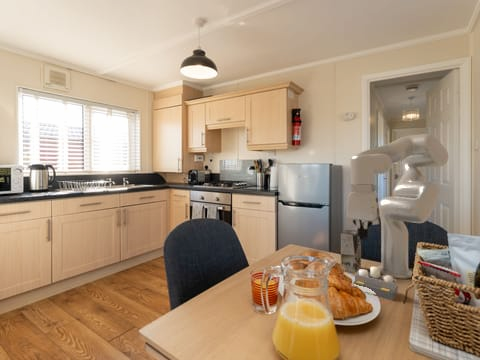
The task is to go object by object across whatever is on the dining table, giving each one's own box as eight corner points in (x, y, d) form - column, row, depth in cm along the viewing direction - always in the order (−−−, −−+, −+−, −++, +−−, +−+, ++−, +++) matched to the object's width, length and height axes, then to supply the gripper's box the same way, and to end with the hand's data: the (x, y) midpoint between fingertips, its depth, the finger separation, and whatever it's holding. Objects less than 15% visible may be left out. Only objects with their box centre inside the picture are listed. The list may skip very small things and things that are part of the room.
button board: (360, 282, 98) (360, 269, 98) (397, 292, 90) (397, 278, 90) (353, 288, 93) (353, 275, 93) (392, 300, 85) (392, 285, 85)
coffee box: (356, 273, 106) (356, 235, 106) (340, 270, 110) (340, 233, 110) (361, 267, 114) (361, 230, 113) (346, 264, 118) (346, 229, 117)
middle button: (372, 275, 93) (371, 265, 93) (381, 277, 91) (381, 267, 91) (369, 277, 91) (369, 268, 91) (378, 280, 89) (378, 270, 89)
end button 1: (384, 283, 91) (384, 274, 91) (393, 286, 89) (393, 276, 89) (381, 286, 89) (381, 276, 88) (391, 289, 87) (391, 279, 86)
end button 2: (360, 277, 96) (360, 268, 96) (369, 279, 94) (369, 270, 94) (357, 280, 94) (357, 270, 94) (366, 282, 92) (366, 273, 92)
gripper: (388, 188, 91) (388, 239, 92) (345, 187, 101) (346, 233, 102) (382, 190, 86) (382, 244, 86) (337, 189, 96) (338, 237, 97)
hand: (363, 238), depth 94 cm, fingers closed
